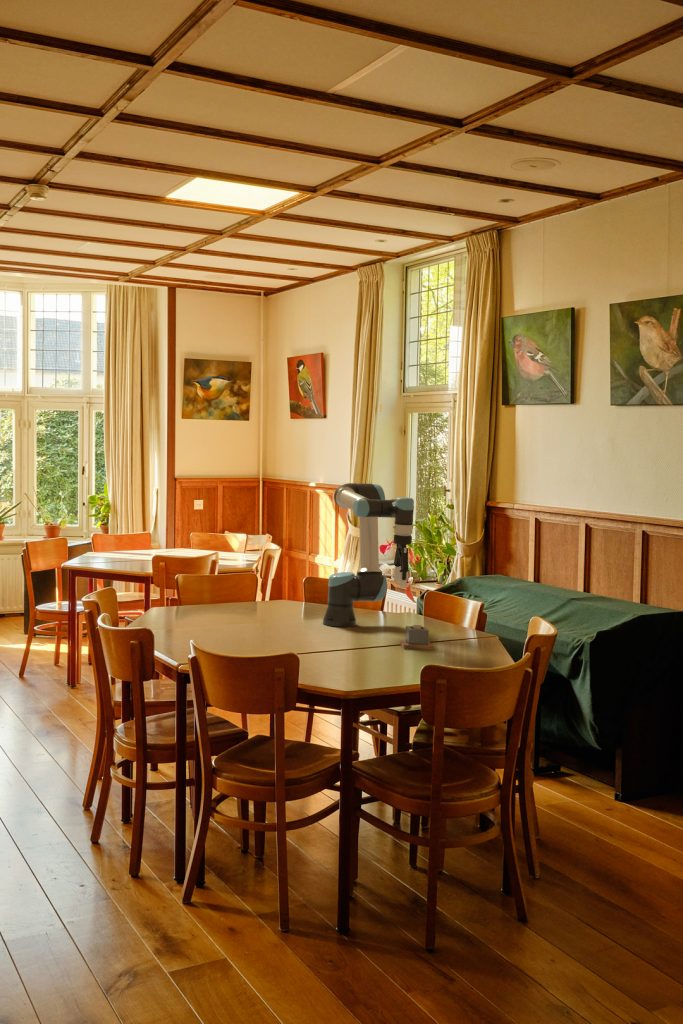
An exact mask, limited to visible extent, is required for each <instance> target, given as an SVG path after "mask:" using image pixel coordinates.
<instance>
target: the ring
mask: <svg viewBox="0 0 683 1024" xmlns="http://www.w3.org/2000/svg"><path fill="white" fill-rule="evenodd" d="M429 632H430V630H429V629H428V628H427V627H426V626H422V625H421V629H413V625H412V626H410V625H406V626H405V633H404V640H405V641H406V642H407V643H408V644H416V645H428V641H429V634H430V633H429Z"/></svg>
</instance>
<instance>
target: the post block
mask: <svg viewBox="0 0 683 1024" xmlns="http://www.w3.org/2000/svg"><path fill="white" fill-rule="evenodd" d="M412 626H413V629H421V626H422V625H419V624H413V625H412ZM398 643H399V645H400V646H401V647H402V648H403V649H404V650H419V651H421V650H422V651H423V650H426V651H429V650H430V651H434V650H435V646H434V645H433V643H432V642H430V641H429V640H428V645H416V644H408V643H407V642H406V641H405V639H399V640H398Z"/></svg>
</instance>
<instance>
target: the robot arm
mask: <svg viewBox="0 0 683 1024" xmlns="http://www.w3.org/2000/svg"><path fill="white" fill-rule="evenodd" d="M333 500H334V502H335V504H336V505H337V506H338V507H340V508H342V509H349V510H351V511H352V512H353V515H354V516H355V517H358V520H359V521H358V522H359V523H358V524H359V526H358V527H359V567H360V568H359V569H358V570H357V572H356V575H355V573H354V572H351V571H350V572H349V571H345V572H344V571H342V572H336V573H332V574H330V576H329V577H328V582H327V583H328V584H327V586H328V587H327V589H328V590H327V606H326V607H327V608H326V610H325V613H324V615H323V618H322V624H323V625H324V626H329V627H339V628H340V627H341V628H345V627H346V628H349V627H355V626H357V618H356V617H357V616H356V614H355V610H354V602H380V601H382V600H383V599H384V597H385V596H386V594H387V589H388V580H387V577H386V575H383V571H382V570H381V568H380V562H379V560H380V559H379V518H392V519H393V518H394V526H392V528H393V529H394V531H393V533H394V534H393V544H394V545H395V544H396V547H395V554H394V560H393V564H394V571H393V572H394V574H393V583H399V588H402V589H404V588H405V589H406V588H407V584H408V582H407V581H408V572H409V571H410V570H409V547H407V546H409V545H412V541H413V537H412V535H413V527H414V526H413V525H414V524H413V522H414V510H415V500H414V498H413V497H408V496H407V497H406V496H405V497H404V496H399V497H397V498H396V499H394V498H391V499H386V495H385V491H384V488H383V487H382V486H381V485H380V484H376V483H356V482H355V483H354V482H350V483H344V484H342V485H339V486H338V487H337V488H336V490H334V493H333Z"/></svg>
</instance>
